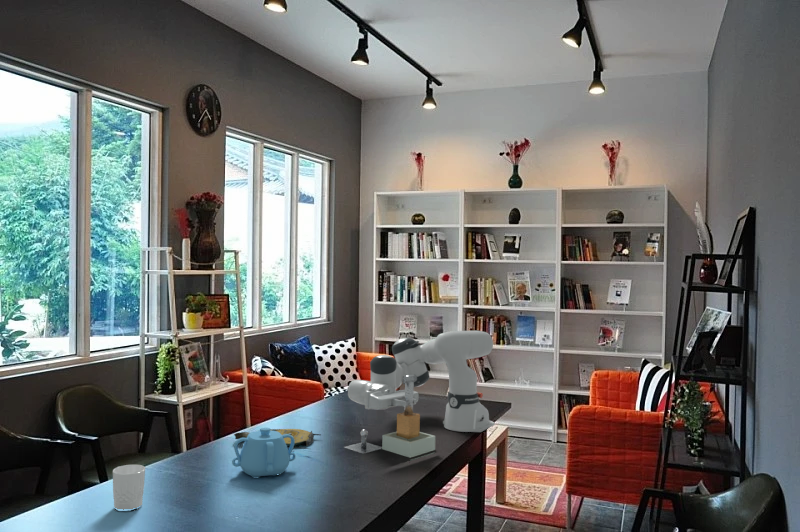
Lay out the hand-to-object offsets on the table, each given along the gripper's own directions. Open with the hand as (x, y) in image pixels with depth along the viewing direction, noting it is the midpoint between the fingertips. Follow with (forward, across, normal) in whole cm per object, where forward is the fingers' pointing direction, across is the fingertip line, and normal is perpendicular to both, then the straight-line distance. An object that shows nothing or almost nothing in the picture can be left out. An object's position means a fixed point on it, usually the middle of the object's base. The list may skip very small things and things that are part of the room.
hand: (410, 403), depth 220 cm
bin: (-1, 0, -18) cm, 18 cm away
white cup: (-18, +90, -18) cm, 93 cm away
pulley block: (-39, +28, -18) cm, 51 cm away
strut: (-1, 0, -12) cm, 12 cm away
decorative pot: (-18, +48, -18) cm, 54 cm away
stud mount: (-13, +10, -17) cm, 24 cm away
